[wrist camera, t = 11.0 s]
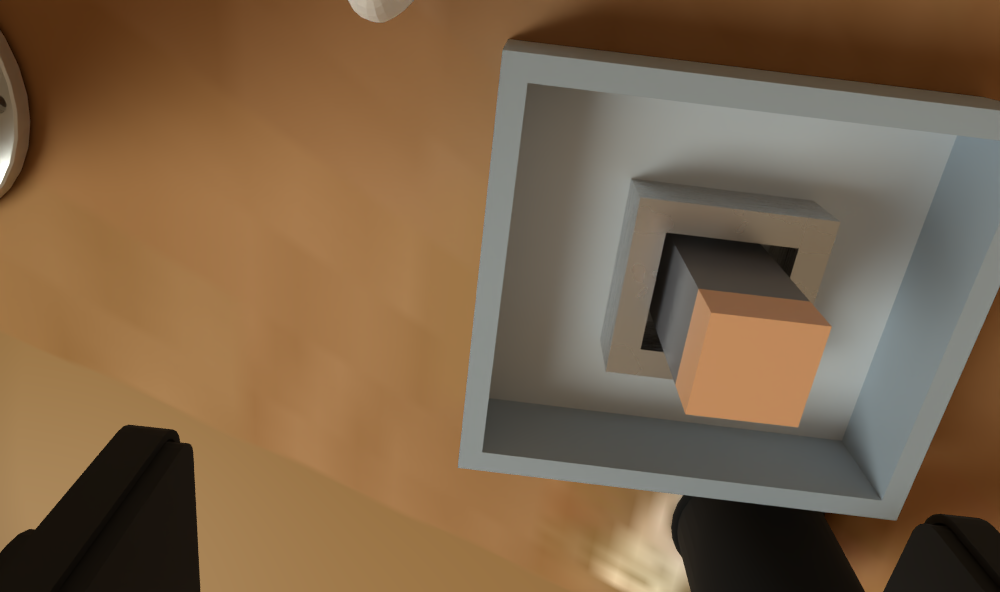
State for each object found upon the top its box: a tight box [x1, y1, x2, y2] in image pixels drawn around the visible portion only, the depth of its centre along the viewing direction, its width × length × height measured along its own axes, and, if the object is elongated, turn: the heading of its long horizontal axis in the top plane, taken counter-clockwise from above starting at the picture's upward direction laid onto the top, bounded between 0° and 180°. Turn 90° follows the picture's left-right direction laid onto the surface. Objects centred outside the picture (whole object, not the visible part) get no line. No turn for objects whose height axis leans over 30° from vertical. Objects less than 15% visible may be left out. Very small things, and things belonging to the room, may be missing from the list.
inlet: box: [600, 178, 841, 380], centre depth 31 cm, size 8×8×3 cm
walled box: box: [458, 39, 1000, 521], centre depth 30 cm, size 20×18×5 cm
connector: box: [649, 232, 832, 427], centre depth 28 cm, size 4×4×9 cm
